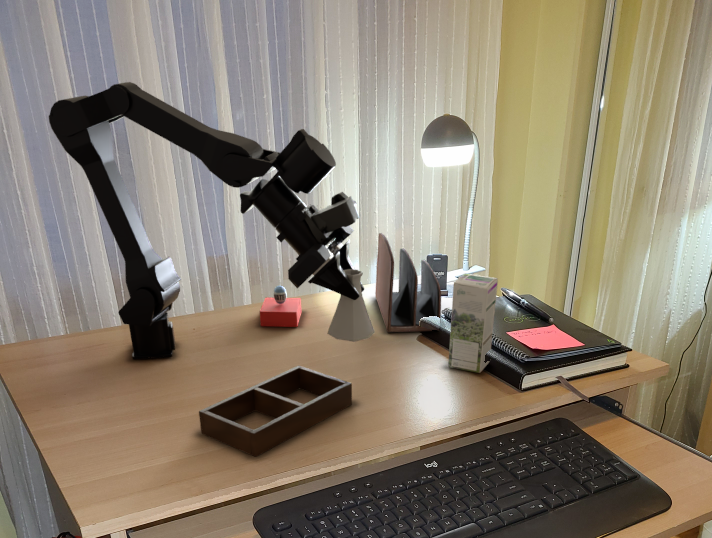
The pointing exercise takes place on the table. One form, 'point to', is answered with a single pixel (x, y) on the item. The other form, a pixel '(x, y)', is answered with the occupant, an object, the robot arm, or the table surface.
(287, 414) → the walnut divided tray
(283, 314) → the red slab
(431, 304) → the letter holder
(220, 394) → the table surface
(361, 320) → the flask
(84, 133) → the robot arm
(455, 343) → the syrup box
